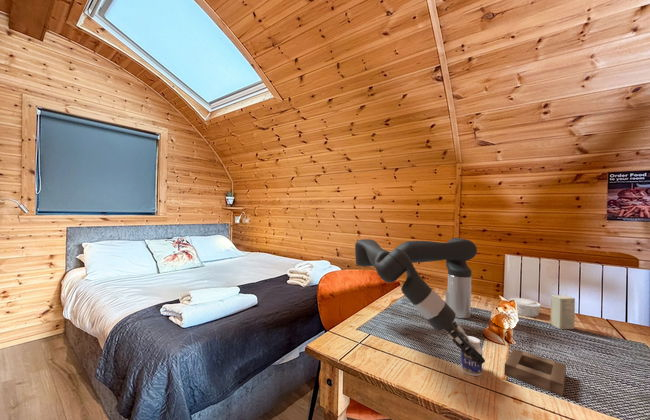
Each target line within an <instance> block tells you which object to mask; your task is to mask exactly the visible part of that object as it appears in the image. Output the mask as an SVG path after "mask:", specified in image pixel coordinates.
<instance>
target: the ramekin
mask: <svg viewBox="0 0 650 420" xmlns="http://www.w3.org/2000/svg"><path fill="white" fill-rule="evenodd" d="M510 300H515V301H516V302H517V309H518V314H517V315H519V316H522V317H528V318H535V317H538V316H539V313H540V310H541V308H542V305H541V303H539V302H538V301H534V300H532V299H528V298H522V297H512V298H510V299H509V301H510Z"/></svg>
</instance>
